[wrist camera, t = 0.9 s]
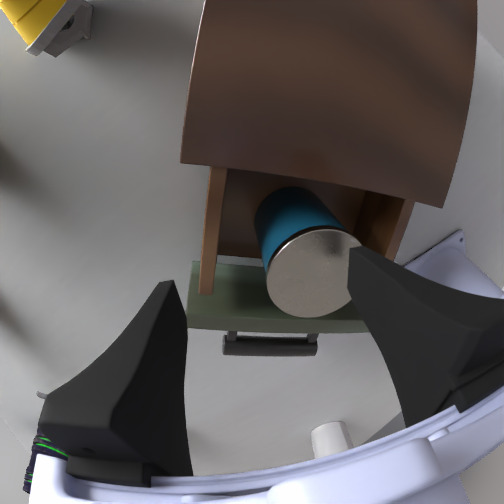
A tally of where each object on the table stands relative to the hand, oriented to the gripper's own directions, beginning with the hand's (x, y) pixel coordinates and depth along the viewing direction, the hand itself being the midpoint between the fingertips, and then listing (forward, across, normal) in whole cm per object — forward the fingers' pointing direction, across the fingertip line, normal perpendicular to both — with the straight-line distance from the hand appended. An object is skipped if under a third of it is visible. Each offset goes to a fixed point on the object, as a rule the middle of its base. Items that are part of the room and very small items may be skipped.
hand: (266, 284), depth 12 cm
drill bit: (+10, +11, -16) cm, 22 cm away
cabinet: (+10, -6, -9) cm, 15 cm away
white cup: (+9, -8, +39) cm, 41 cm away
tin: (+8, -3, +1) cm, 8 cm away
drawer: (+9, -2, +3) cm, 9 cm away
